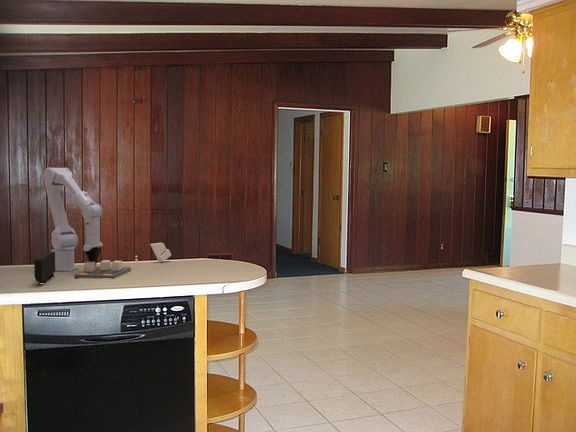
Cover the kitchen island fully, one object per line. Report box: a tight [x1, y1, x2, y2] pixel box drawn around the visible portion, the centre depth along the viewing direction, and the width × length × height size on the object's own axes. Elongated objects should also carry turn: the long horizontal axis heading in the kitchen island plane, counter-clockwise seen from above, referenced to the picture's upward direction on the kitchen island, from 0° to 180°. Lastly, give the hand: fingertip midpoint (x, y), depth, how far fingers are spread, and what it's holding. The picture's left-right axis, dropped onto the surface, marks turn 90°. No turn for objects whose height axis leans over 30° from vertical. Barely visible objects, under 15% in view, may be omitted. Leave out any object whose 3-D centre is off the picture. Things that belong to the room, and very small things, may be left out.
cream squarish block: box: [111, 260, 123, 271], centre depth 238 cm, size 3×4×4 cm
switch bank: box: [74, 265, 132, 280], centre depth 237 cm, size 16×20×2 cm
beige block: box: [83, 261, 95, 272], centre depth 235 cm, size 3×4×4 cm
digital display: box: [33, 251, 56, 284], centre depth 221 cm, size 21×3×10 cm, turn 10°
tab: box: [99, 259, 112, 270], centre depth 238 cm, size 3×4×4 cm
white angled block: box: [149, 242, 172, 263], centre depth 271 cm, size 4×10×9 cm, turn 143°
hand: (93, 265), depth 238 cm, fingers closed
